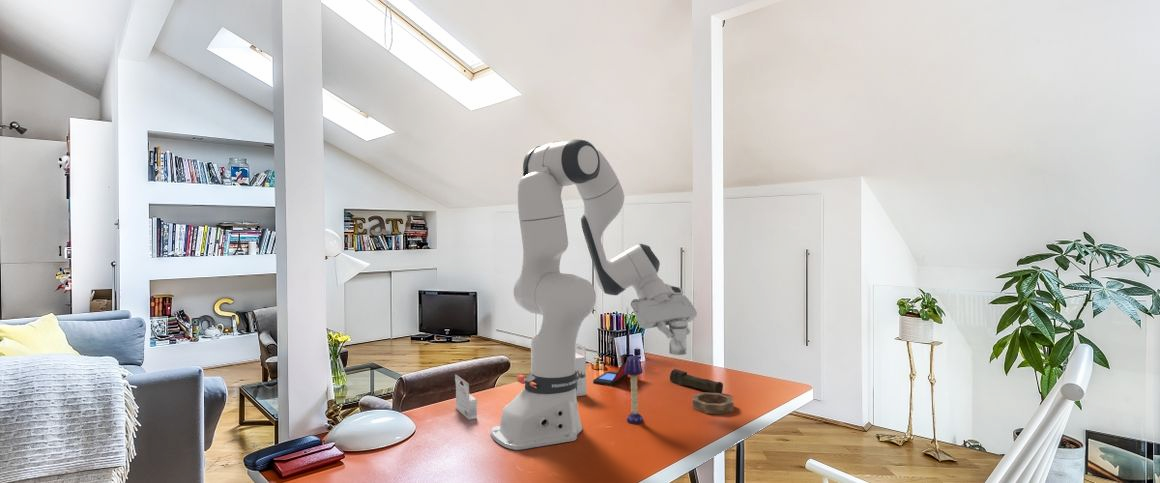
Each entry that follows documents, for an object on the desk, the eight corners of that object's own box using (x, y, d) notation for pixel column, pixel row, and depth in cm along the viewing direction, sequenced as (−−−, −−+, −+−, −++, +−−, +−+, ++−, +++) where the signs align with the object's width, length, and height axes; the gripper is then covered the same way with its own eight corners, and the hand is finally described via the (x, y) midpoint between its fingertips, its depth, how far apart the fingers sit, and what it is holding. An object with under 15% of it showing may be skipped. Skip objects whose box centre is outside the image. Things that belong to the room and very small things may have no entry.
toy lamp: (637, 425, 132) (637, 360, 131) (621, 422, 134) (621, 357, 134) (645, 419, 136) (645, 356, 135) (629, 416, 138) (629, 354, 138)
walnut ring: (713, 416, 138) (713, 407, 138) (684, 405, 147) (684, 397, 147) (740, 409, 144) (741, 400, 144) (711, 398, 153) (711, 390, 153)
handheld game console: (608, 374, 180) (608, 353, 180) (637, 378, 175) (637, 356, 175) (591, 383, 169) (591, 361, 169) (622, 388, 164) (622, 365, 164)
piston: (677, 355, 143) (677, 323, 143) (665, 352, 147) (665, 320, 147) (690, 353, 146) (690, 321, 146) (677, 350, 150) (677, 318, 150)
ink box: (560, 389, 162) (559, 342, 162) (574, 387, 164) (574, 341, 164) (571, 397, 154) (571, 348, 154) (586, 395, 156) (586, 346, 156)
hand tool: (724, 394, 158) (724, 379, 158) (716, 396, 155) (716, 381, 155) (675, 380, 172) (675, 366, 172) (667, 383, 170) (667, 368, 170)
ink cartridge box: (463, 406, 147) (463, 372, 146) (477, 418, 137) (477, 381, 137) (454, 408, 145) (454, 373, 145) (468, 420, 136) (468, 383, 136)
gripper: (633, 293, 146) (657, 333, 138) (685, 287, 158) (710, 324, 150) (623, 307, 150) (646, 347, 142) (674, 300, 161) (698, 337, 154)
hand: (679, 335), depth 146 cm, fingers closed on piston, 5 cm apart
